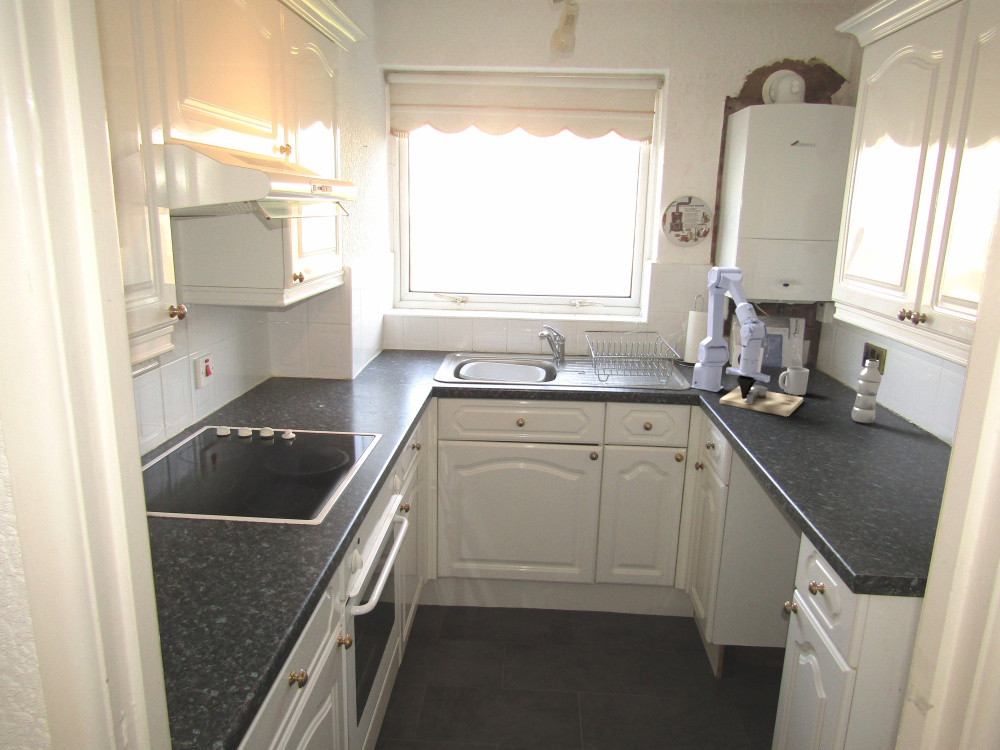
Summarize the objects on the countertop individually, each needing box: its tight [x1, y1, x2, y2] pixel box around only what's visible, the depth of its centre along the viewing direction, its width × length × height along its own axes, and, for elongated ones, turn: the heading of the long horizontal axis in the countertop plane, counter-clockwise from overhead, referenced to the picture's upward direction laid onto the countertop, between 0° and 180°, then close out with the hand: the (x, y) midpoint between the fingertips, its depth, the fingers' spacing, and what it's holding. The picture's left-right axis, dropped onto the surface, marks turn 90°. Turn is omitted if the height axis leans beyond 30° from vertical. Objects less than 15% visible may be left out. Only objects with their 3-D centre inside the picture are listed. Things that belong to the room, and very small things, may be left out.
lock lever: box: [746, 384, 768, 404], centre depth 231 cm, size 15×6×3 cm, turn 148°
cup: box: [778, 366, 810, 396], centre depth 246 cm, size 7×10×9 cm
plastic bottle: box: [851, 358, 883, 424], centre depth 213 cm, size 6×7×20 cm
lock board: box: [718, 385, 804, 417], centre depth 233 cm, size 22×22×2 cm
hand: (744, 398), depth 229 cm, fingers closed
